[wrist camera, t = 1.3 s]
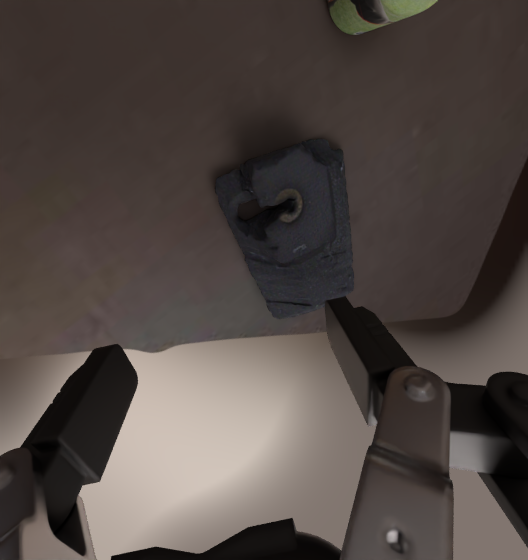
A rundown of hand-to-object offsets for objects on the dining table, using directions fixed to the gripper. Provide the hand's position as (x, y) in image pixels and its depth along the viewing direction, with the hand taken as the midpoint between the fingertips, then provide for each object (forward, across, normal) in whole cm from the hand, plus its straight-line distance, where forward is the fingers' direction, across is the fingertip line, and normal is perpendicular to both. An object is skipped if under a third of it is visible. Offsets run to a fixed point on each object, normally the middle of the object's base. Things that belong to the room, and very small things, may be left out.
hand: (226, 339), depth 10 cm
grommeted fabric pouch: (+25, -7, +6) cm, 26 cm away
